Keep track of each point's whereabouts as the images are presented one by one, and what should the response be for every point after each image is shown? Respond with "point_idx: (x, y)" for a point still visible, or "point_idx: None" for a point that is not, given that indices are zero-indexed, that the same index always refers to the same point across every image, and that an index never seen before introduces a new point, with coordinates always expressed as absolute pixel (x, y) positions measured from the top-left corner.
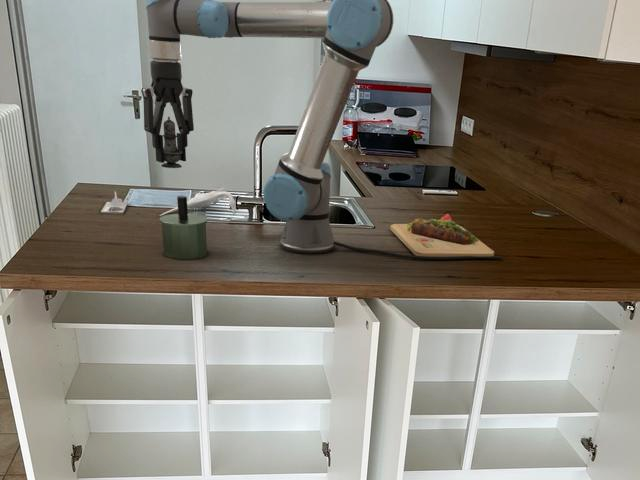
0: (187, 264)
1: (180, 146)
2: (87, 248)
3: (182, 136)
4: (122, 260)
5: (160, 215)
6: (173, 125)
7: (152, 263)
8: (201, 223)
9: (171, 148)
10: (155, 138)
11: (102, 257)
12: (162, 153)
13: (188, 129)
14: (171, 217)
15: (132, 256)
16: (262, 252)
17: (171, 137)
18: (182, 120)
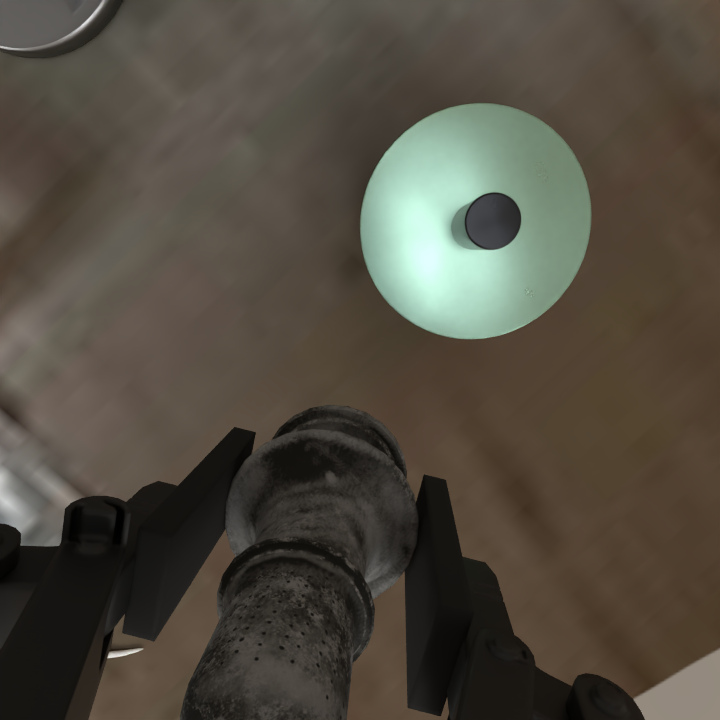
0: (565, 117)
1: (213, 513)
2: (624, 519)
3: (180, 524)
4: (672, 329)
5: (136, 649)
6: (258, 642)
7: (637, 224)
8: (474, 104)
9: (349, 500)
10: (504, 625)
11: (683, 405)
12: (440, 509)
13: (25, 566)
14: (491, 286)
15: (608, 343)
16: (227, 22)
17: (332, 553)
18: (52, 657)
